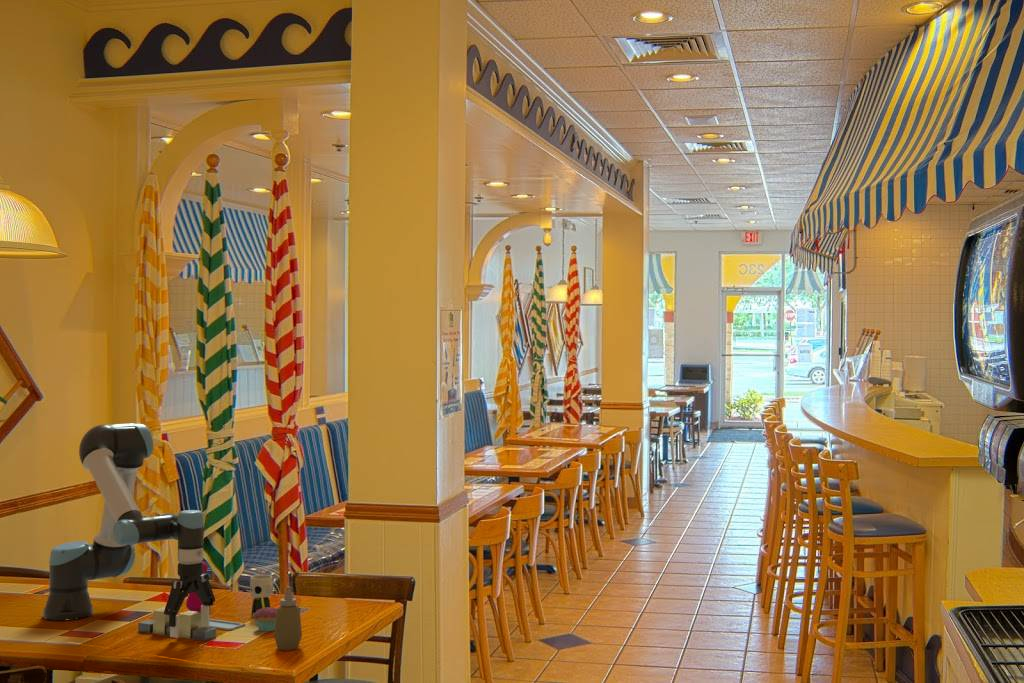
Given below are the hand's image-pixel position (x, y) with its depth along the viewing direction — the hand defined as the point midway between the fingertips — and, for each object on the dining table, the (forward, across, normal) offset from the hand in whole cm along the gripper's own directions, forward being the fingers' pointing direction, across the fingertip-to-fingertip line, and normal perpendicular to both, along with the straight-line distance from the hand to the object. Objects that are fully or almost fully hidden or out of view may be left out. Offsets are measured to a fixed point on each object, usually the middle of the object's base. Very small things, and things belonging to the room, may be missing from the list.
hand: (190, 632), depth 323 cm
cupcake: (+2, +17, -16) cm, 23 cm away
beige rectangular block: (+1, 0, 0) cm, 1 cm away
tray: (+2, +14, +2) cm, 14 cm away
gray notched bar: (+2, 0, +5) cm, 5 cm away
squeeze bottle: (+2, +3, -34) cm, 34 cm away
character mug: (+2, +31, -3) cm, 31 cm away
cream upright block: (+1, 0, +10) cm, 10 cm away
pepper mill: (+2, +21, +15) cm, 26 cm away
